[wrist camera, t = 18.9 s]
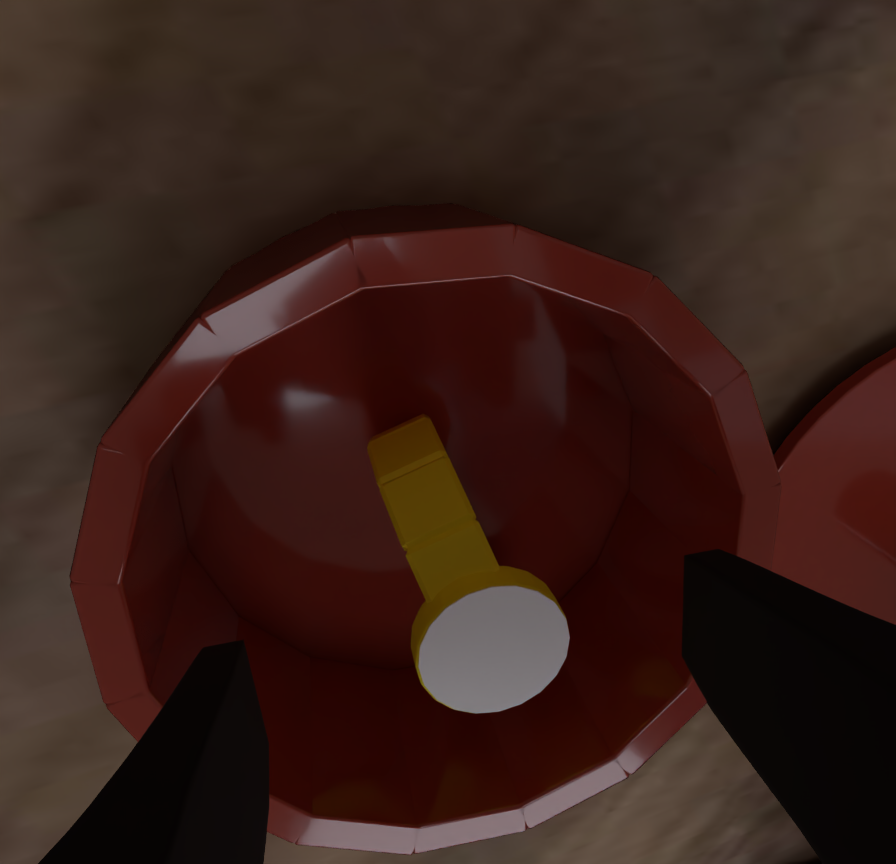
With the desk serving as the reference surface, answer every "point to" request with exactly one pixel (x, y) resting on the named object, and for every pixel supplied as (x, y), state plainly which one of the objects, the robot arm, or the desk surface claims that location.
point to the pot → (372, 532)
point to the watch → (464, 584)
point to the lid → (843, 494)
